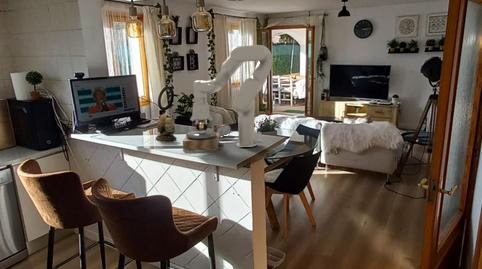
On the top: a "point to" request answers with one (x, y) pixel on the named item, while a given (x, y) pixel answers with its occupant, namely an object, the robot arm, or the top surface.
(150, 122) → the top surface
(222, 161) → the top surface
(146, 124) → the top surface
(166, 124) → the owl figurine
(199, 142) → the wheel block
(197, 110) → the robot arm
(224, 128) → the tin
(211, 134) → the pot lid
